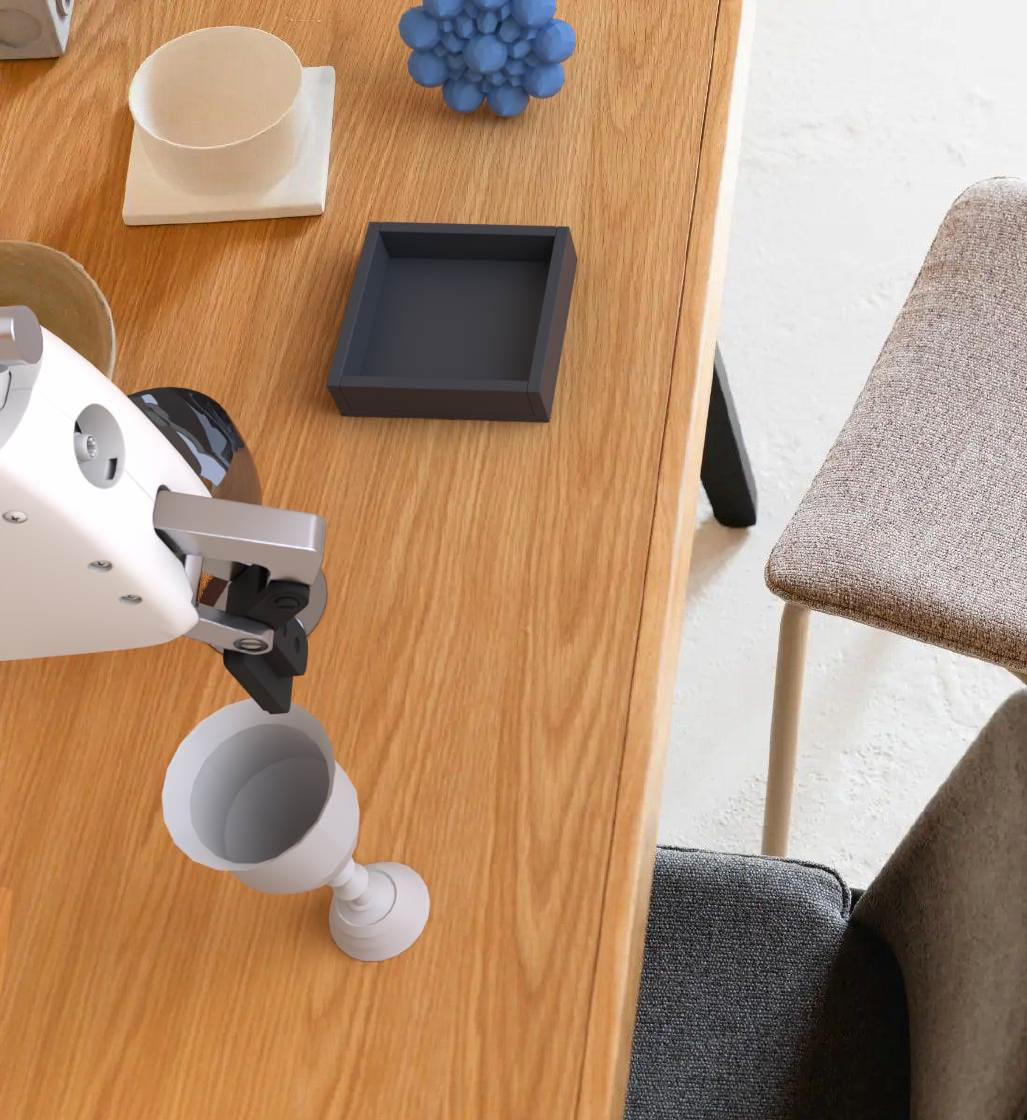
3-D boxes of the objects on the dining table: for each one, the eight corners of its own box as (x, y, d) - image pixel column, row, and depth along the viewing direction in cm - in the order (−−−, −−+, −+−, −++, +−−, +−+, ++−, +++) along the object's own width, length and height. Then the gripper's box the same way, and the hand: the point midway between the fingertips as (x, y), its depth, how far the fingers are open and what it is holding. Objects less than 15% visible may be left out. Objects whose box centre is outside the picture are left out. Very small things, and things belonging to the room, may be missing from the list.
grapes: (601, 70, 104) (571, -79, 93) (587, 142, 100) (555, -5, 90) (434, 66, 104) (386, -83, 94) (416, 137, 101) (364, -9, 90)
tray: (341, 416, 90) (324, 385, 87) (382, 254, 96) (368, 220, 93) (549, 422, 89) (539, 392, 86) (578, 259, 95) (569, 225, 93)
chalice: (450, 971, 73) (335, 855, 58) (310, 995, 73) (156, 885, 57) (445, 830, 77) (335, 684, 61) (311, 851, 76) (166, 710, 61)
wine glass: (267, 692, 81) (151, 556, 68) (160, 624, 83) (27, 479, 70) (364, 581, 84) (271, 431, 71) (258, 518, 86) (149, 361, 73)
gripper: (214, 209, 35) (408, 561, 50) (-532, 268, 35) (-113, 606, 50) (174, 475, 32) (396, 770, 47) (-660, 546, 31) (-167, 821, 46)
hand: (133, 685), depth 48 cm, fingers open, 9 cm apart
